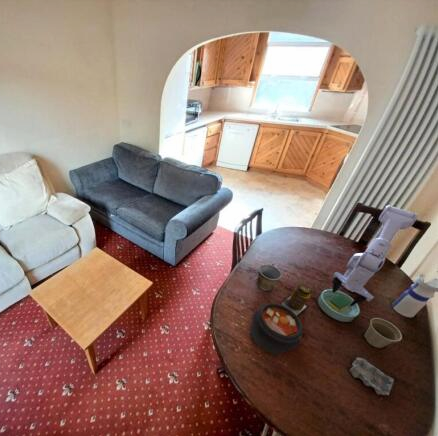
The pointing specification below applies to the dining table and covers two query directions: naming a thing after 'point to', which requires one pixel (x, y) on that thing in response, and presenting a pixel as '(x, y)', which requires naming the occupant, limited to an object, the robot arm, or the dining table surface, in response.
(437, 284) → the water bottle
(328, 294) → the bowl
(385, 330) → the flower pot
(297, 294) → the condiment
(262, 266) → the ceramic cup
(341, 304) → the sponge
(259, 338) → the casserole
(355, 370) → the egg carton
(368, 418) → the dining table surface
